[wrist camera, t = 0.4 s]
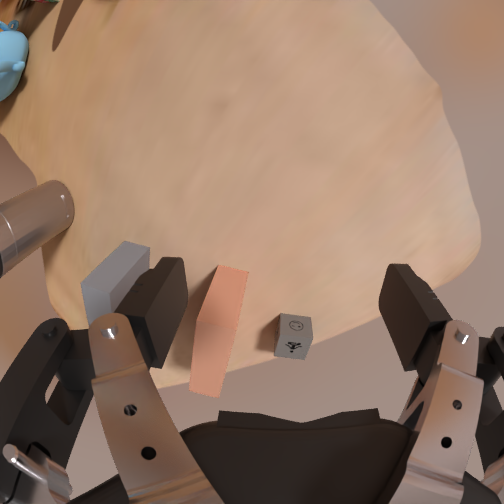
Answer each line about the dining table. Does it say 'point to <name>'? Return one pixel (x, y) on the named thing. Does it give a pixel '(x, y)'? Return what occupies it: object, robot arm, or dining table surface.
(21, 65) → the decorative pot
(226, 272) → the terracotta slab
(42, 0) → the stack of blocks
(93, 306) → the slate slab
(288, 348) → the dice cube
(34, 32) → the dining table surface
